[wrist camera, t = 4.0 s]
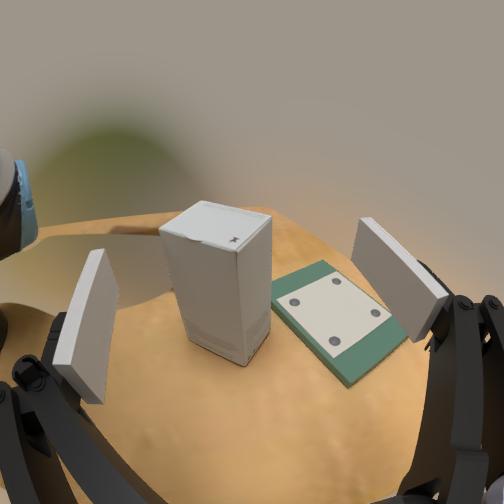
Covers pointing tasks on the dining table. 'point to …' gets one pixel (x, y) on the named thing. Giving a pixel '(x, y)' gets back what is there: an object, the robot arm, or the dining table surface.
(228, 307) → the skincare box
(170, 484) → the dining table surface
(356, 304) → the board
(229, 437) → the dining table surface
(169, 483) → the dining table surface
